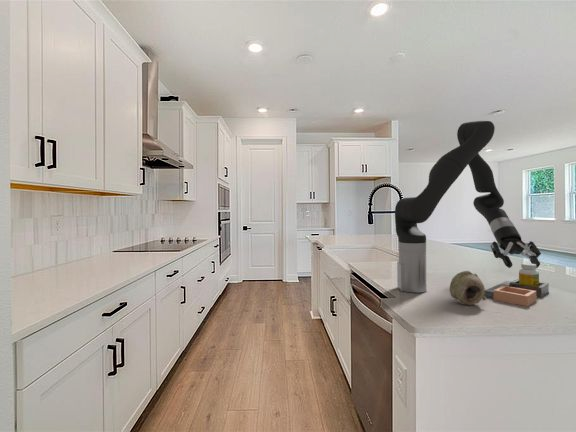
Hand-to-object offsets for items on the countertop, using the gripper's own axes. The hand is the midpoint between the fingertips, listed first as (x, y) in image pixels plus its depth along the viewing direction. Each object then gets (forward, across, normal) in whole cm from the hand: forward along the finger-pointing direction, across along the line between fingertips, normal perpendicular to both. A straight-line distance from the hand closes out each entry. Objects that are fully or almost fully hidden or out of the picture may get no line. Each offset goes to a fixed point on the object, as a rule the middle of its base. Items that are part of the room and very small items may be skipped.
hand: (523, 266), depth 103 cm
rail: (+10, -6, +1) cm, 12 cm away
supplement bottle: (+8, 0, +4) cm, 9 cm away
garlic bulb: (+18, -26, -6) cm, 33 cm away
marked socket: (+15, -10, -3) cm, 18 cm away
